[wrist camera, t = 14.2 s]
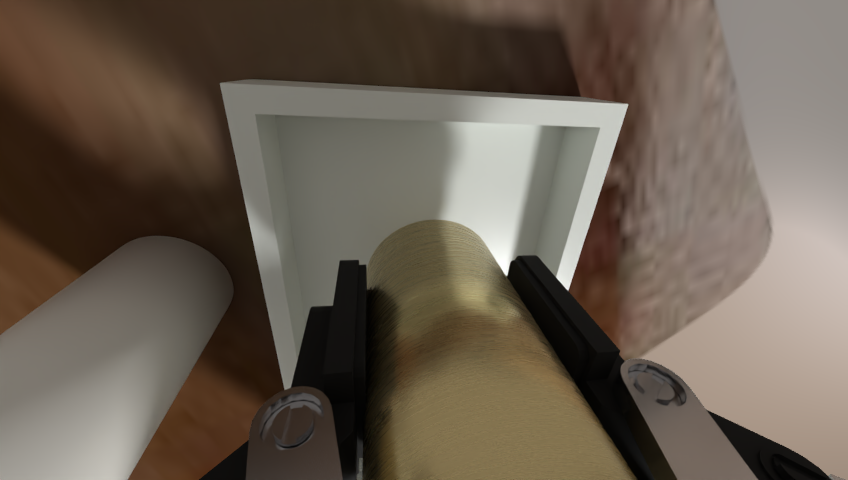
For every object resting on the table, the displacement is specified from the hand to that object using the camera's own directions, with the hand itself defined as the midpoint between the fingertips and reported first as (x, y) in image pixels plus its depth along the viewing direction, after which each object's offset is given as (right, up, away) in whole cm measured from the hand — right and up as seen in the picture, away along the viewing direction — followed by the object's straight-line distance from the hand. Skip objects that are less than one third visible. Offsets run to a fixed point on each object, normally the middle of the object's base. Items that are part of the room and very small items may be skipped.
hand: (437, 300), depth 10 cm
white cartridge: (-11, 0, +3) cm, 11 cm away
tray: (-1, +2, +4) cm, 4 cm away
